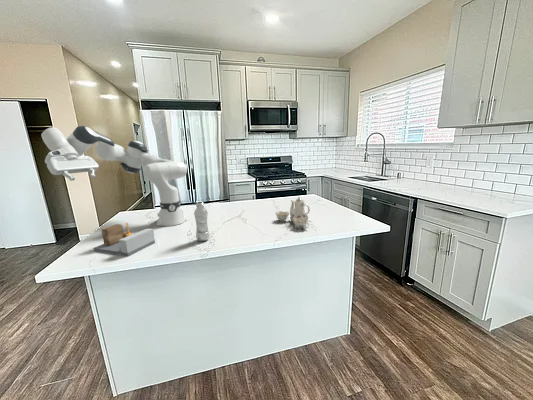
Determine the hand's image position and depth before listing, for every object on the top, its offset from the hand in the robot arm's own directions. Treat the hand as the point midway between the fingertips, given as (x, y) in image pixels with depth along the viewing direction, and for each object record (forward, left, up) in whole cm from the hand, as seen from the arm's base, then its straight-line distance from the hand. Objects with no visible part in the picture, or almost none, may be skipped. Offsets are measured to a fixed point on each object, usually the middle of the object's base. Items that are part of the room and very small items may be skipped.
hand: (83, 178), depth 117 cm
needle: (+4, +15, -32) cm, 36 cm away
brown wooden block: (+4, +10, -32) cm, 34 cm away
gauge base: (+11, +13, -34) cm, 38 cm away
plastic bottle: (+25, +48, -35) cm, 64 cm away
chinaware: (+30, +103, -35) cm, 113 cm away
